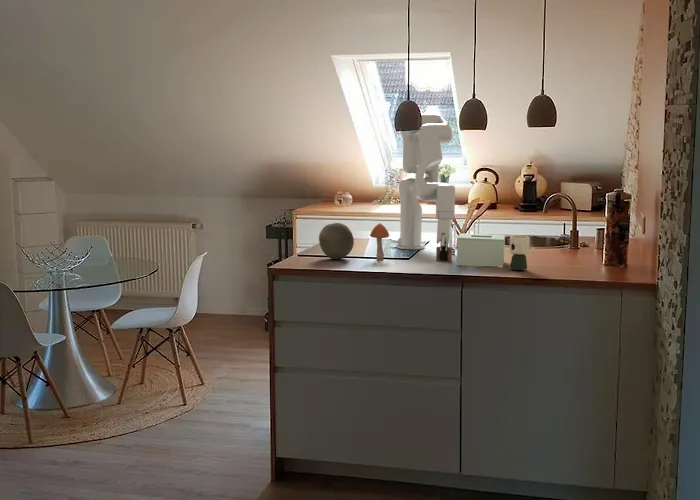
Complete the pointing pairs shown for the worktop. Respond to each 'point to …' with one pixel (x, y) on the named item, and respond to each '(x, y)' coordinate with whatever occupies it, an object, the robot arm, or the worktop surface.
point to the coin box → (480, 250)
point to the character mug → (519, 252)
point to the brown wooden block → (448, 254)
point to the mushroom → (379, 238)
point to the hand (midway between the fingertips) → (443, 259)
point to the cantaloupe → (336, 240)
